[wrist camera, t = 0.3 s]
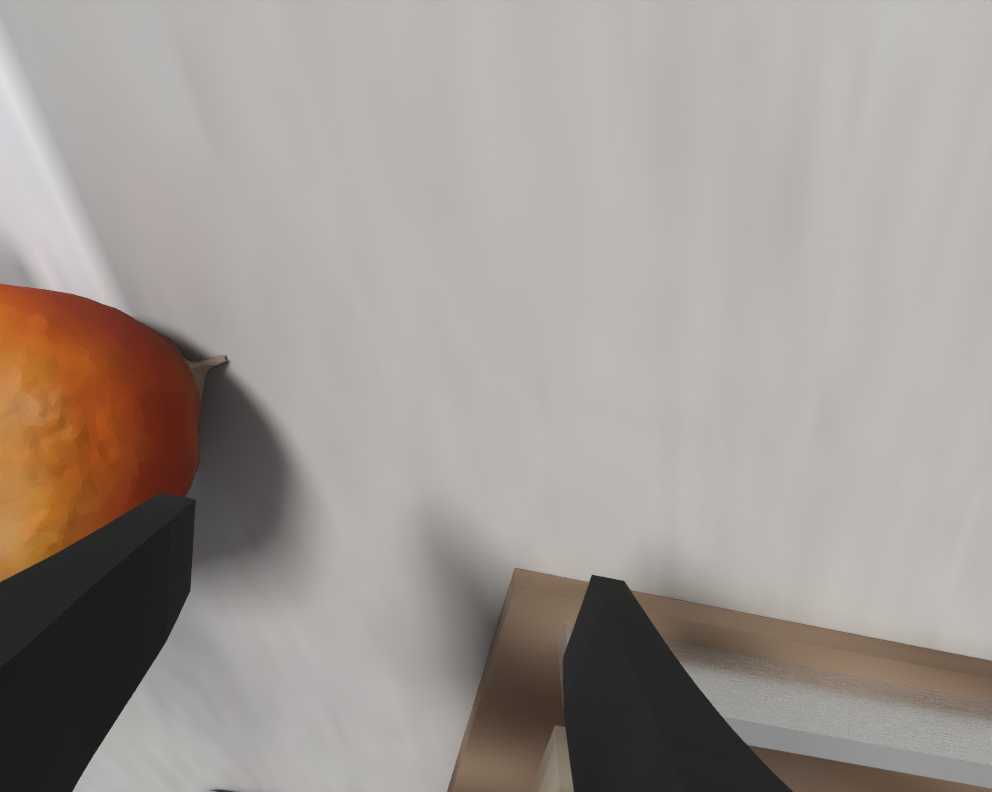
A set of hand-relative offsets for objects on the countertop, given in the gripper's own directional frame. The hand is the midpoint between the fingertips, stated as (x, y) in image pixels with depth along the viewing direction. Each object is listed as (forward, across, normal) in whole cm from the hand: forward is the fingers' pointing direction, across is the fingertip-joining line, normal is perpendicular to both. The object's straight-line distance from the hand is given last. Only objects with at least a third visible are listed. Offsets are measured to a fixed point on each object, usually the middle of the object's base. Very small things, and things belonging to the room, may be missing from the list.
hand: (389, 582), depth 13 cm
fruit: (+10, +10, +3) cm, 14 cm away
